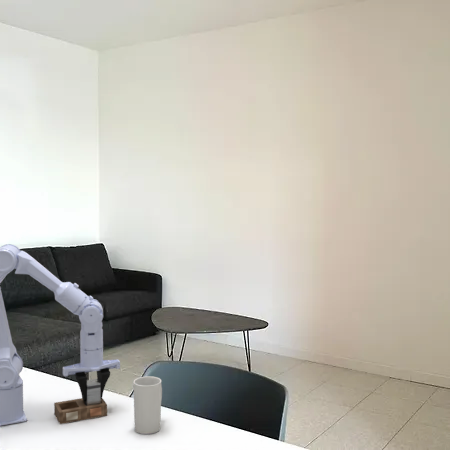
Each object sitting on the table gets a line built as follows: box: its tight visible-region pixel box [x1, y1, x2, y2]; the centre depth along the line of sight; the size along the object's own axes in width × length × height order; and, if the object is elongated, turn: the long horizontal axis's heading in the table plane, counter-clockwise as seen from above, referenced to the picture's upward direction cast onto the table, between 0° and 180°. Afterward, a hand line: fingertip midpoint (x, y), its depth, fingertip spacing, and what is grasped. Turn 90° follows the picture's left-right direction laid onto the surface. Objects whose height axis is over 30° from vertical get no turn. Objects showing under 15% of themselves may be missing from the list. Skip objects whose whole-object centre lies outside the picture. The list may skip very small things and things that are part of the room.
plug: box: [84, 378, 101, 406], centre depth 147 cm, size 3×3×8 cm
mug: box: [133, 376, 163, 435], centre depth 140 cm, size 10×7×12 cm, turn 156°
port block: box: [53, 397, 108, 425], centre depth 146 cm, size 12×7×3 cm, turn 117°
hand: (92, 398), depth 148 cm, fingers closed on plug, 3 cm apart
